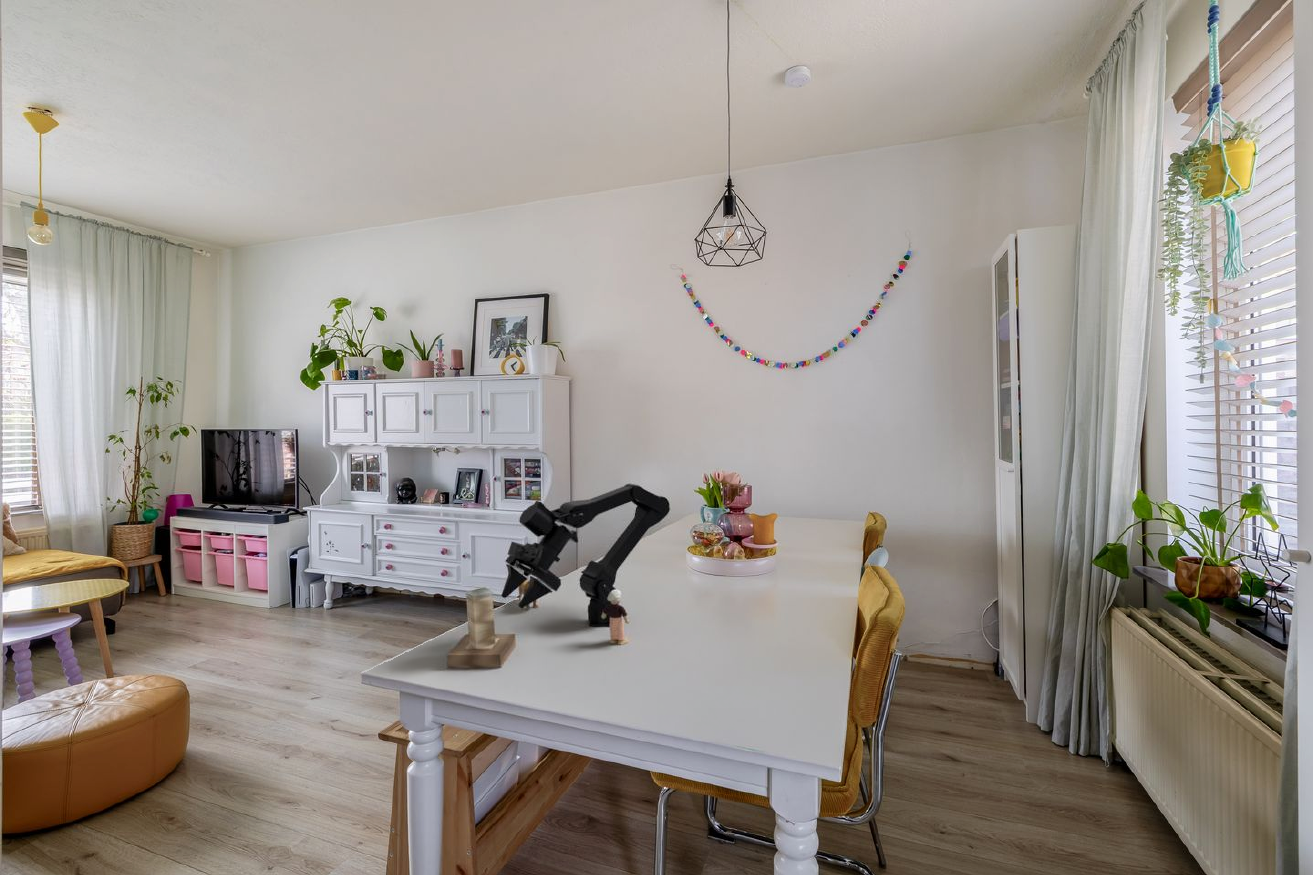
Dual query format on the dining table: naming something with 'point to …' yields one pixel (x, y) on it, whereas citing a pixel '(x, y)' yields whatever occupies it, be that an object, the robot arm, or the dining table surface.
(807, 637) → the dining table surface
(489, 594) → the oak column
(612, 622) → the grandmother figurine
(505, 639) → the plinth
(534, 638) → the dining table surface
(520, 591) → the lion figurine
